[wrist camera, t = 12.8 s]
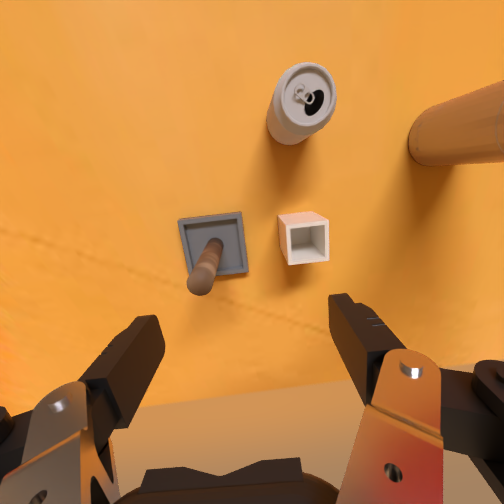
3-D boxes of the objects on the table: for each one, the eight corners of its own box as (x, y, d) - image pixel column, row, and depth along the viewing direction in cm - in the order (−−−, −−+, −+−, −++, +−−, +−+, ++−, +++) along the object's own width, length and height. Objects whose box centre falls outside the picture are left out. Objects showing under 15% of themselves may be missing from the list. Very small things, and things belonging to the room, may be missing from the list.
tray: (241, 211, 41) (241, 213, 40) (248, 268, 45) (248, 272, 43) (180, 218, 41) (177, 220, 40) (192, 274, 45) (189, 278, 43)
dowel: (222, 236, 42) (209, 271, 27) (224, 252, 43) (214, 294, 28) (205, 238, 42) (184, 274, 27) (208, 254, 43) (189, 297, 28)
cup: (311, 211, 42) (328, 220, 33) (312, 244, 44) (329, 260, 35) (277, 215, 42) (285, 225, 33) (280, 247, 44) (288, 265, 35)
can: (294, 155, 39) (314, 146, 27) (256, 127, 37) (261, 106, 26) (322, 112, 37) (356, 84, 25) (283, 82, 35) (301, 37, 24)
